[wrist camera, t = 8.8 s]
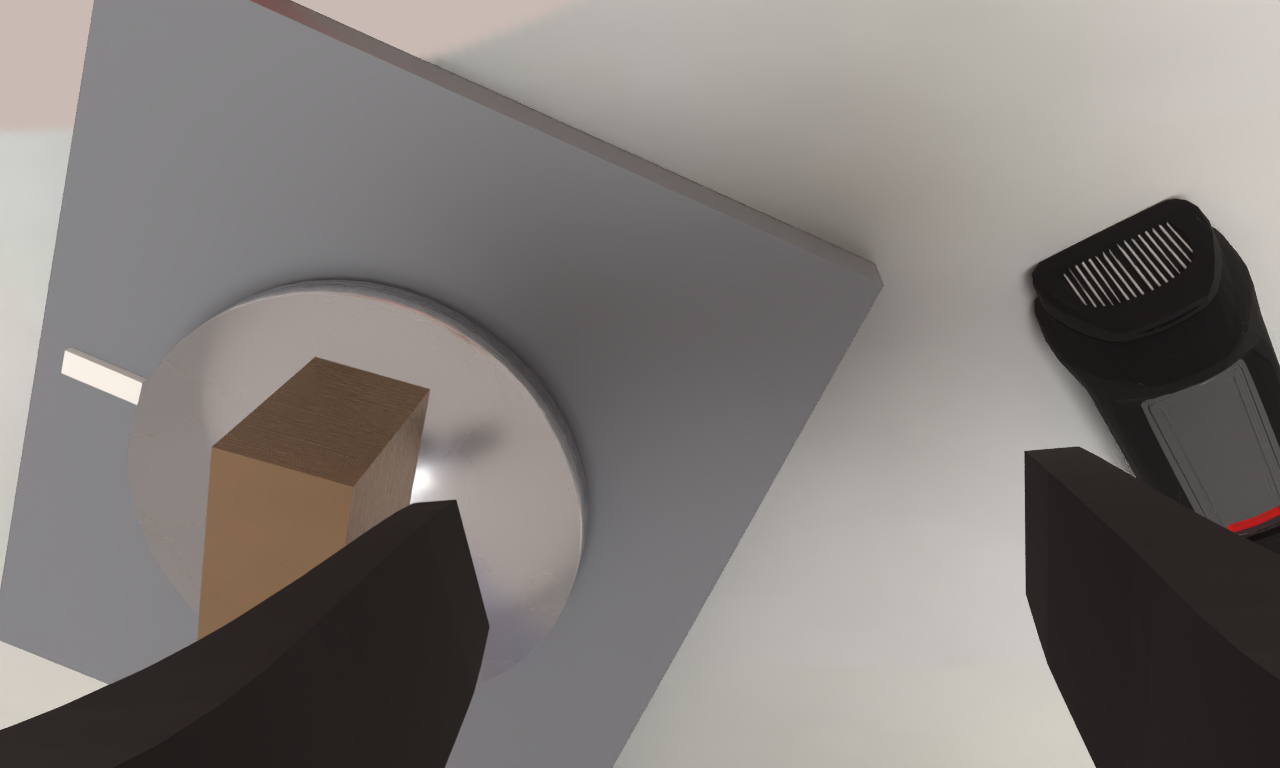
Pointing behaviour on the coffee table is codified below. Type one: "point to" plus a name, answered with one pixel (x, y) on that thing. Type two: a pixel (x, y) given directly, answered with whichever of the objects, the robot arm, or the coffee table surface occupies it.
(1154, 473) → the electric trimmer
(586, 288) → the dial base
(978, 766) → the coffee table surface
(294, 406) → the dial
